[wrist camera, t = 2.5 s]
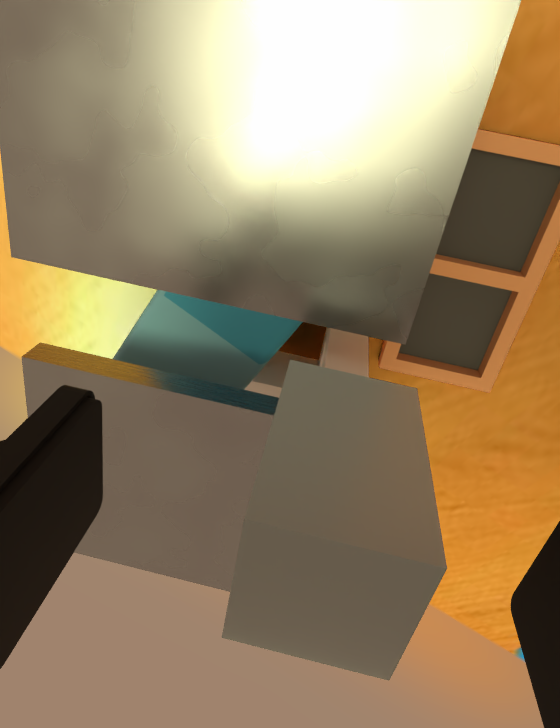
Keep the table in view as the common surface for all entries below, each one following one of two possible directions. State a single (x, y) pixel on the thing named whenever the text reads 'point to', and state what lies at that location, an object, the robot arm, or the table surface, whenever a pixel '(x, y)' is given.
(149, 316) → the data package
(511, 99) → the table surface
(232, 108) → the tunnel
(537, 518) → the table surface
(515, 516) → the table surface
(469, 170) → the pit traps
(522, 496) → the table surface
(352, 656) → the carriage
